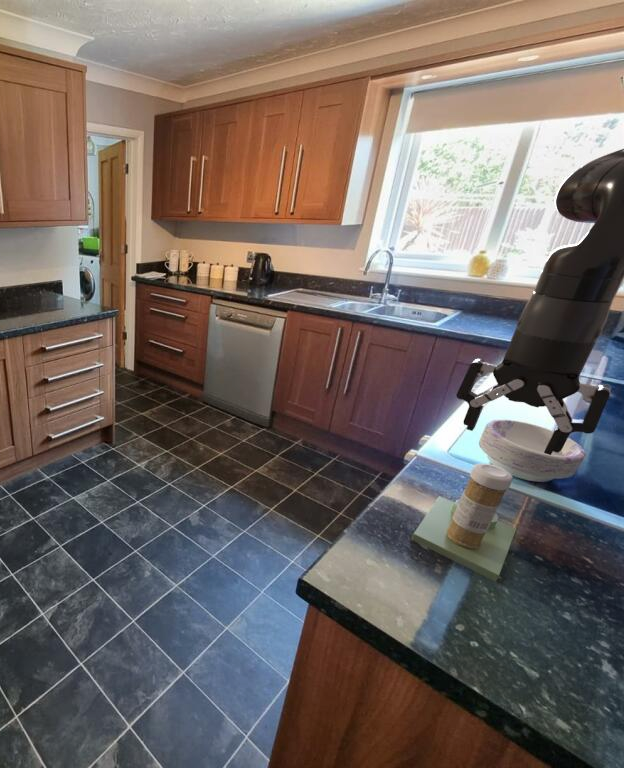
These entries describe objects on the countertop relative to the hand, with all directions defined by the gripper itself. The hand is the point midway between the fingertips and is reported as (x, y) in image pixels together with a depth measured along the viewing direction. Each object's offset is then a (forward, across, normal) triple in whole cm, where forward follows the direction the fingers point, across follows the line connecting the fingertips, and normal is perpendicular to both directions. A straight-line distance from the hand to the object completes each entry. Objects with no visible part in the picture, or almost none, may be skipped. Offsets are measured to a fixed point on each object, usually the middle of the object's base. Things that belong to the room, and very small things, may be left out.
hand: (507, 439), depth 61 cm
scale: (+20, 0, -3) cm, 20 cm away
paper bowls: (+21, -3, -37) cm, 42 cm away
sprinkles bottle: (+19, 0, 0) cm, 19 cm away
